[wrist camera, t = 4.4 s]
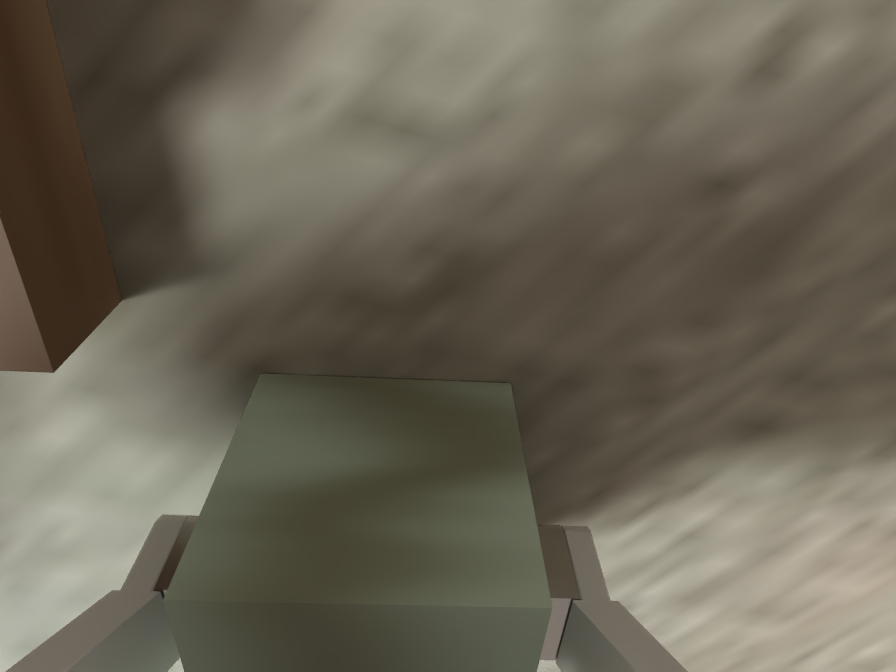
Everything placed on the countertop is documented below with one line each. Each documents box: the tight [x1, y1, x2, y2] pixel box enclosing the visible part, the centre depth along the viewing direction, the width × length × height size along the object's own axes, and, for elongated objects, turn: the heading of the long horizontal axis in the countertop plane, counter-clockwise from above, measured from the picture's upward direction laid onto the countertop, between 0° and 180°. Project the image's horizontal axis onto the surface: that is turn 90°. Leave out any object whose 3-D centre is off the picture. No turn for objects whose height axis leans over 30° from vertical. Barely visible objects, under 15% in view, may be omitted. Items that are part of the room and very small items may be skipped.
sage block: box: [163, 373, 552, 672], centre depth 11 cm, size 5×5×5 cm
